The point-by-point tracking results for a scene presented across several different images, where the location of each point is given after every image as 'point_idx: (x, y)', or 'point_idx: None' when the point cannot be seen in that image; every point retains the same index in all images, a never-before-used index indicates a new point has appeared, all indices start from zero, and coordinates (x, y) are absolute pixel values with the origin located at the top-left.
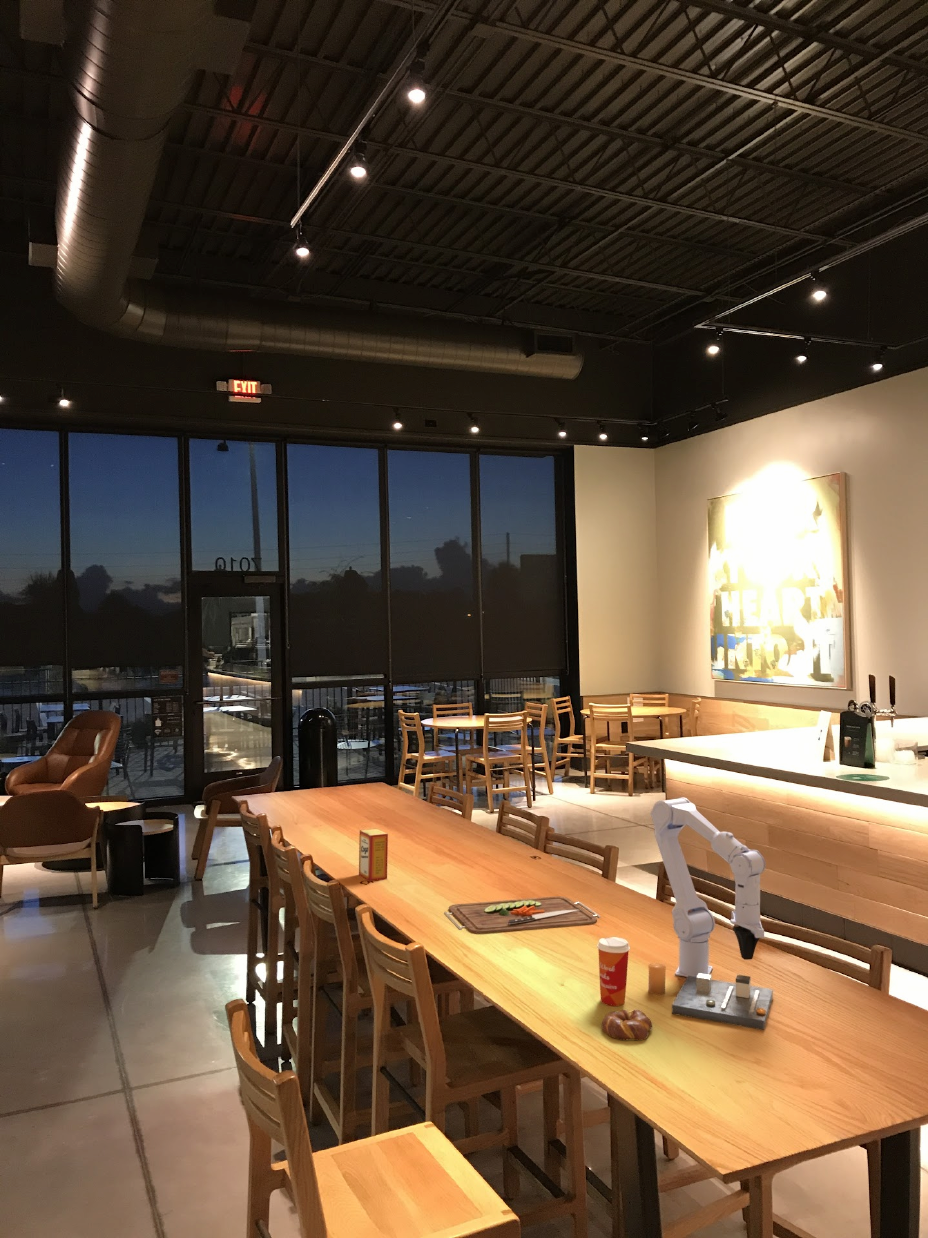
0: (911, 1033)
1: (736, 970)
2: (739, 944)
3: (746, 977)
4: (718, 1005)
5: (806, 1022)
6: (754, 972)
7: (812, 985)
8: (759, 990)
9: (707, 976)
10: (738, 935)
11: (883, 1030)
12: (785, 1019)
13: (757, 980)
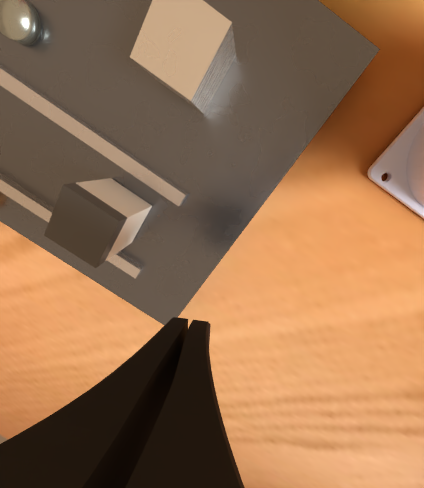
0: (12, 435)
1: (419, 330)
2: (190, 381)
3: (82, 245)
4: (20, 58)
5: (30, 305)
6: (378, 369)
7: (243, 435)
8: (161, 287)
9: (172, 63)
10: (129, 480)
11: (16, 408)
12: (40, 268)
13: (312, 343)
